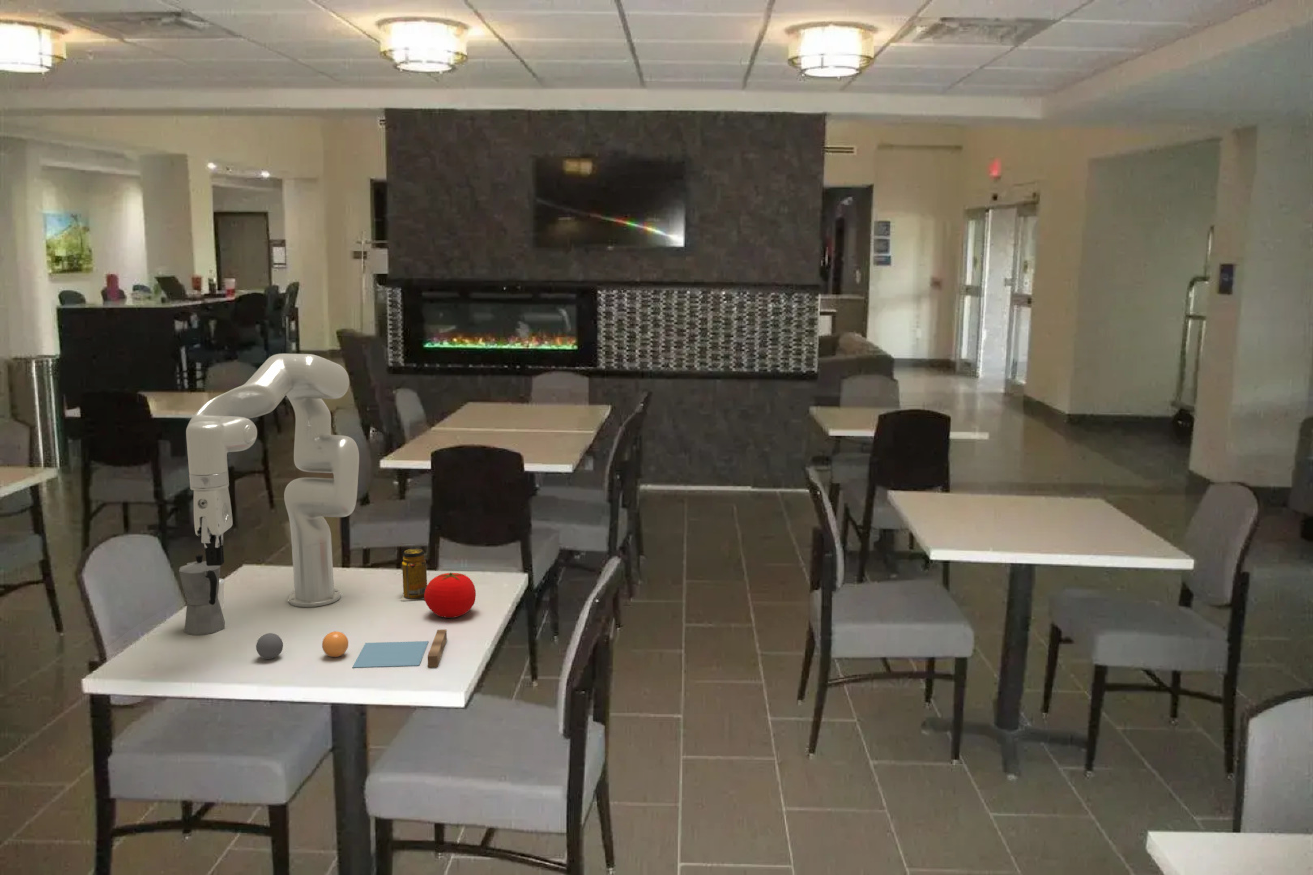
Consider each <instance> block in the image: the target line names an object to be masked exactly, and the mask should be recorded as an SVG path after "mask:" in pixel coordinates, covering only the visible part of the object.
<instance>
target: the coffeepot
mask: <svg viewBox="0 0 1313 875" xmlns="http://www.w3.org/2000/svg"><path fill="white" fill-rule="evenodd" d="M203 556H204V554H196V555H195V560H196V561H192V562H187V563H186V565H182V566H180V567H179V570H178V572H179V577H180V581H181V585H182V588H183V592H184V596H185V598H186V602H187V603H186V609H185V619H184V620H185V622H184V630H183V631H184V633H185V634H187V635H190V636H191V635H192V636H204V635H209V634H215V633H217V632H220V631H222V630H223V629H225V624H226V623H225V622H226V621H225V618H224V614H223V609H221V606H220V602H219V599H218V591H219V578H220V577H221V576H220V574H221V566H207V565H206V560H205V561H203Z"/></svg>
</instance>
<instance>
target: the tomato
mask: <svg viewBox="0 0 1313 875" xmlns="http://www.w3.org/2000/svg"><path fill="white" fill-rule="evenodd" d="M476 592H477V591H476V587H475V583H474V582H473V581H472V579H471V578H470V576H467V575H466V574H463V573H459V572H446V573H441V574H438V575H437V576H435V577H434V578H432V579H431V580H430V581H429V582H428V583H427V587H426V590H425V593H424V599H423V600H424V602H425V604H426V606H427V608H429V610H430V611H431V612H432V613H433V614H435V615H436V616H438V617H442V618H457V617H461V616H463V615H465V614H467V612H469V611H470V610H471V609H472V608H473V606H474V604H475V602H476V596H477V593H476Z"/></svg>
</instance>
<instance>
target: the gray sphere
mask: <svg viewBox="0 0 1313 875" xmlns="http://www.w3.org/2000/svg"><path fill="white" fill-rule="evenodd" d="M283 648H284V642H283V640H282V638H281V636H279V634H276V633H273V632H269V633H265V634H263V635H261V636H260V637H259V638H258V639H257V642H256V644H255V649H256V653H257V654H258V655H259V656H260V657H261V658H263V659H266V660H273V659H275V658H277V657H278V656H279V655H280V654H281V653H282V651H283Z"/></svg>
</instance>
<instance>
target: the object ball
mask: <svg viewBox="0 0 1313 875" xmlns="http://www.w3.org/2000/svg"><path fill="white" fill-rule="evenodd" d="M321 648H322V651H323V652H324V654H325V655H326V656H328V657H332V658H337V657H342V656H343V655H344V654H345V653H346V652H347V651H348V648H349V640H348V637H347V635H345V634H344V633H343V632H341V631H337V630H336V631H335V630H334V631H331V632H329V633H327V634H326V635H325V636H324V638H323V639H322V643H321Z"/></svg>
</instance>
